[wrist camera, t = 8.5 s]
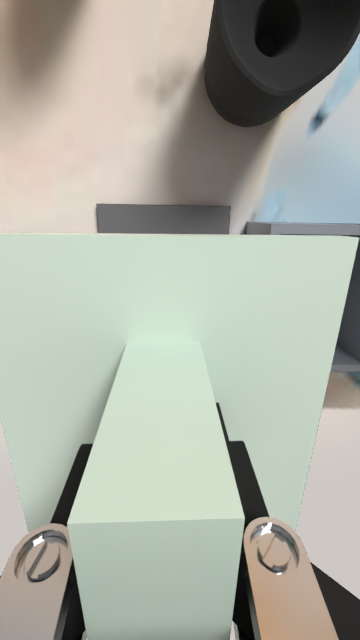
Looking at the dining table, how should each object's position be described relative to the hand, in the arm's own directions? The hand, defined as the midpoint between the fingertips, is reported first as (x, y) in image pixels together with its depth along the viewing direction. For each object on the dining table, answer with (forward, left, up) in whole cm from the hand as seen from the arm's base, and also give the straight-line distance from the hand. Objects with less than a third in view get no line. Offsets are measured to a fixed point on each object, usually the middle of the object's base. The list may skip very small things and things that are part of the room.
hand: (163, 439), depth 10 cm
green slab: (0, 0, -3) cm, 3 cm away
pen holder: (-8, -20, -25) cm, 33 cm away
